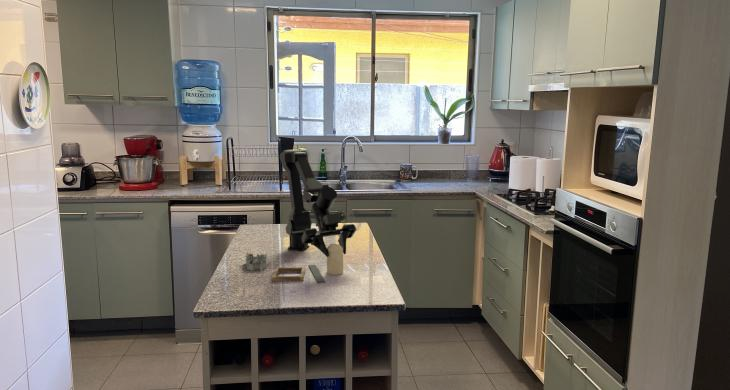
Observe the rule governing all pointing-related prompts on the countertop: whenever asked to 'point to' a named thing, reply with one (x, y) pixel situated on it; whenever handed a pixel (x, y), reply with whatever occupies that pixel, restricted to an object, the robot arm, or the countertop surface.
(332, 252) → the candle
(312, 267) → the strip
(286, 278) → the keeper frame
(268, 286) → the countertop surface
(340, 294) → the countertop surface
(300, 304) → the countertop surface
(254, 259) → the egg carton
